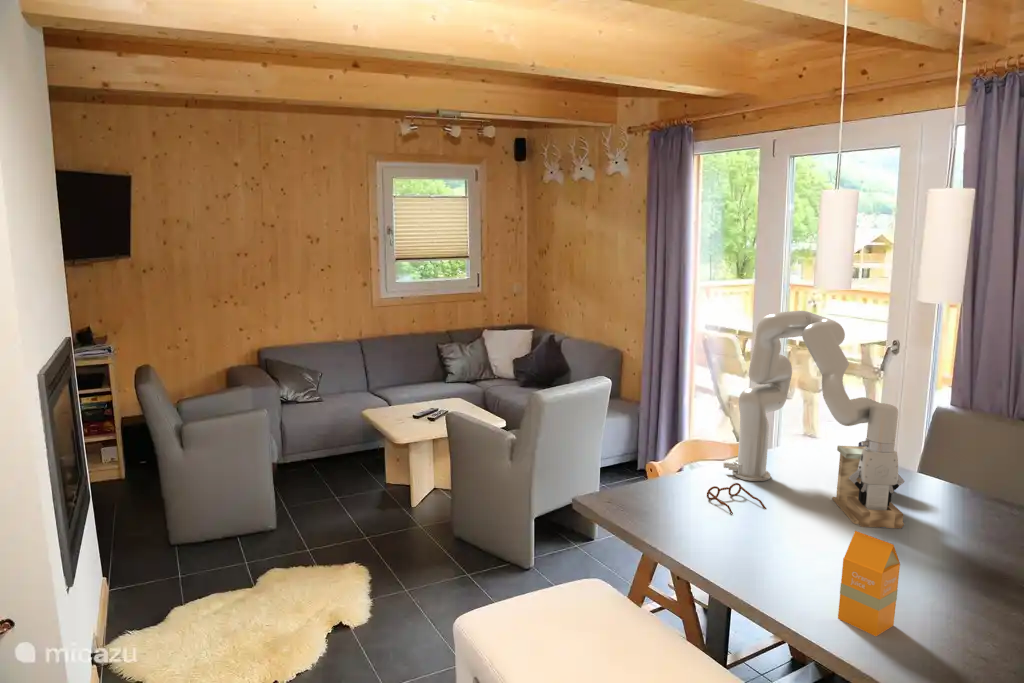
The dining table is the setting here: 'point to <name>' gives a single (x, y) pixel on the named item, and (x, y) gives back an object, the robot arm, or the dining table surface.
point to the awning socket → (850, 493)
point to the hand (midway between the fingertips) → (874, 503)
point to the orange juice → (869, 584)
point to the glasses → (730, 494)
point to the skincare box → (877, 497)
